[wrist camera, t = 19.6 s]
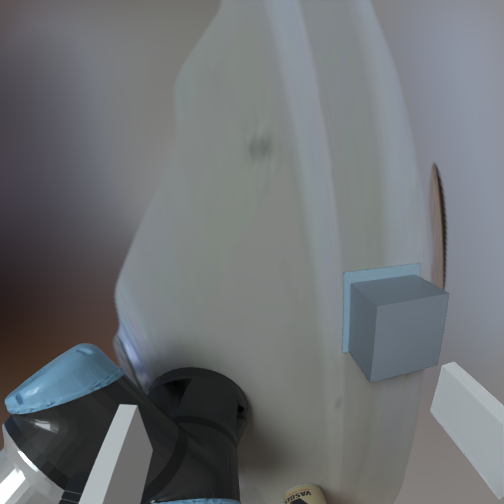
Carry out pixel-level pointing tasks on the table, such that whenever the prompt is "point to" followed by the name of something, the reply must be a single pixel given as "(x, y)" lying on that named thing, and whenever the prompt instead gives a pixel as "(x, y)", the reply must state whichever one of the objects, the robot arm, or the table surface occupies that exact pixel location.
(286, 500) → the coffee cup
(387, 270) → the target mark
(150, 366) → the table surface
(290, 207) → the table surface
